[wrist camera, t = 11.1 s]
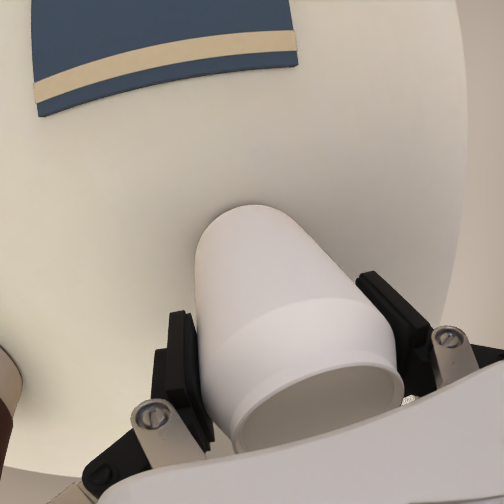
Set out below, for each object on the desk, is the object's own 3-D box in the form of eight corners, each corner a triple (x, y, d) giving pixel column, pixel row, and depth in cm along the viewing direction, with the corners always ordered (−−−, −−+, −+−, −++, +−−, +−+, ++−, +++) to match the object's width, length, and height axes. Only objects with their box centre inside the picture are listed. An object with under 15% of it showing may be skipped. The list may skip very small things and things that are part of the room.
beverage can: (322, 249, 19) (447, 391, 8) (248, 318, 20) (303, 493, 9) (250, 175, 17) (357, 287, 6) (171, 258, 18) (155, 449, 7)
